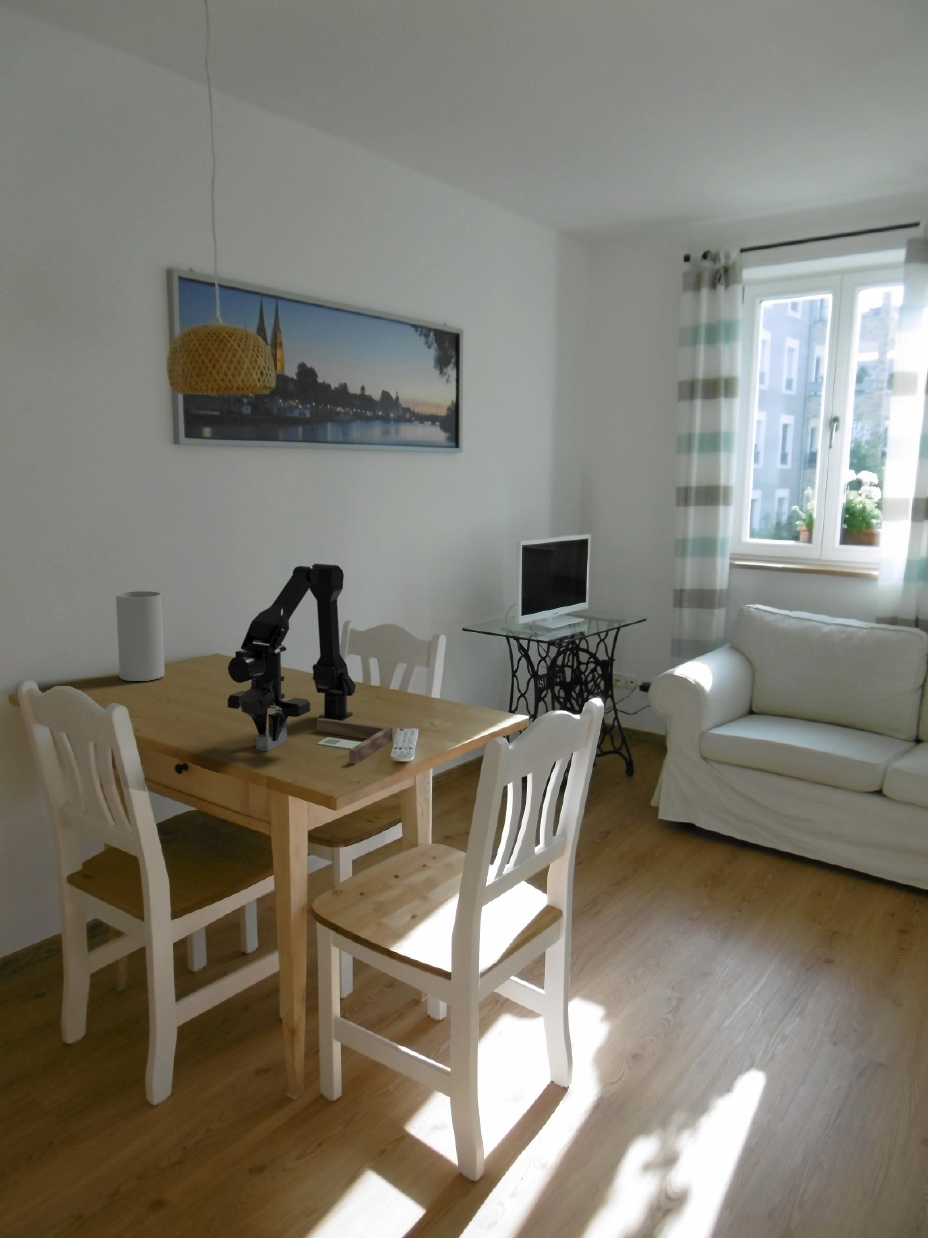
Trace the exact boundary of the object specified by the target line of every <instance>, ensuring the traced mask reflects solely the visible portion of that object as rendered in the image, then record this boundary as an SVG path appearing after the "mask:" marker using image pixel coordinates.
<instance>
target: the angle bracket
mask: <svg viewBox="0 0 928 1238" xmlns="http://www.w3.org/2000/svg"><path fill="white" fill-rule="evenodd" d="M273 713H275V710H274V711H271V712H269V713H267V720H268V721H267V722H268V730H266V732H265V733H263V734H260V735H259V734H258V735H256V736H255V737H256V738H255V740H256V741H255V742H256V743H255V744H256V745H255V746H256V748H255V749H256V750H259V751H264V752H265V751H266V752H268V751H271V750H273V749H274V748H276V747H279V746H280V745H282V744H284V743H287V742H288V723H287V722H288V721H287V720H288V719H287V720H286V722H285V724H284V726H283V728H282V731H281V733H280V735H279V738H278V740H277V741H273V720H272V718H271V717H270V715H271V714H273Z"/></svg>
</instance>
